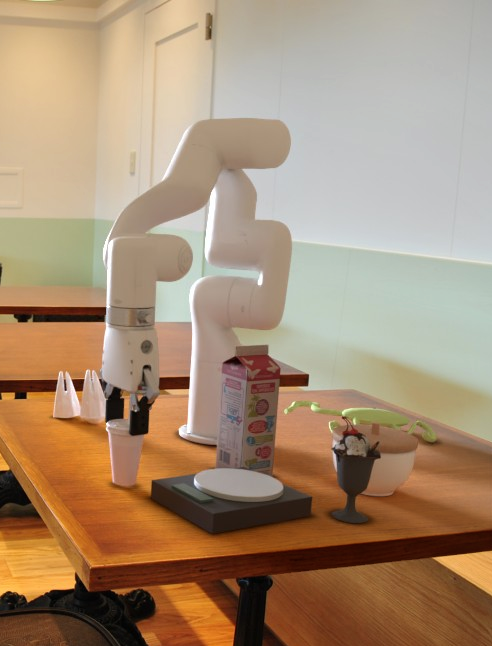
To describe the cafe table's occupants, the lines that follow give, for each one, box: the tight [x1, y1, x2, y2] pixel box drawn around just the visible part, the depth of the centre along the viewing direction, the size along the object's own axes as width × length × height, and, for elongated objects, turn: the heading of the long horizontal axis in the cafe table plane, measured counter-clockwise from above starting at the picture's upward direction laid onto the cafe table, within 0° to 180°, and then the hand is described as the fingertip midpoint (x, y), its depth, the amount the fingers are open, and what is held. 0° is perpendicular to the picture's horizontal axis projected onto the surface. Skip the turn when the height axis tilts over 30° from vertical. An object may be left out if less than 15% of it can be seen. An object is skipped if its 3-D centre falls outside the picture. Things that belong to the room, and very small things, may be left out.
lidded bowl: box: [331, 422, 419, 497], centre depth 134 cm, size 13×13×11 cm
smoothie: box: [105, 396, 145, 487], centre depth 132 cm, size 6×6×14 cm
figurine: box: [283, 400, 437, 443], centre depth 167 cm, size 18×27×6 cm
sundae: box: [330, 416, 381, 524], centre depth 121 cm, size 7×7×15 cm
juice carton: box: [215, 344, 281, 477], centre depth 139 cm, size 7×7×22 cm
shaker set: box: [52, 369, 107, 425], centre depth 172 cm, size 12×4×11 cm, turn 53°
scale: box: [150, 467, 313, 535], centre depth 125 cm, size 18×15×4 cm
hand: (126, 427), depth 132 cm, fingers closed on smoothie, 6 cm apart
